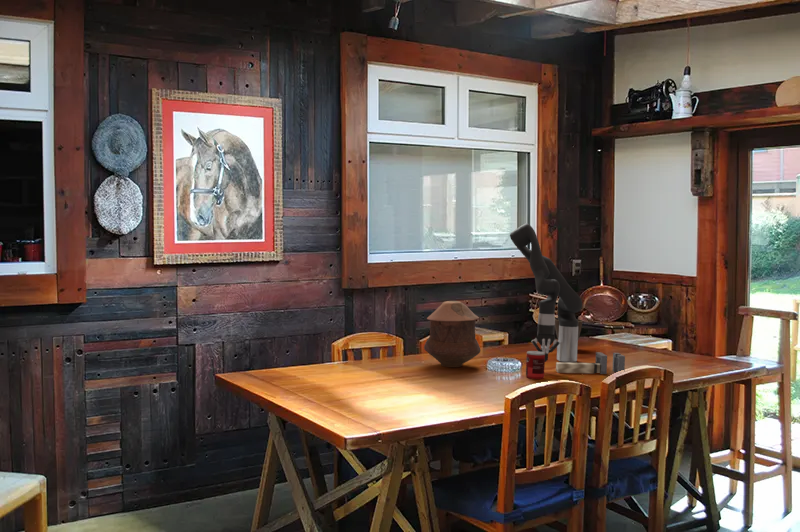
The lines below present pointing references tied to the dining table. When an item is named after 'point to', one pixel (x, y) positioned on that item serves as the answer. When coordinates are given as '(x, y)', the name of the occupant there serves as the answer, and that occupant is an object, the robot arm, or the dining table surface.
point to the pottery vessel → (452, 334)
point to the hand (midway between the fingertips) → (544, 361)
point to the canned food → (535, 364)
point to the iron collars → (617, 362)
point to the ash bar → (577, 367)
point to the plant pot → (558, 327)
